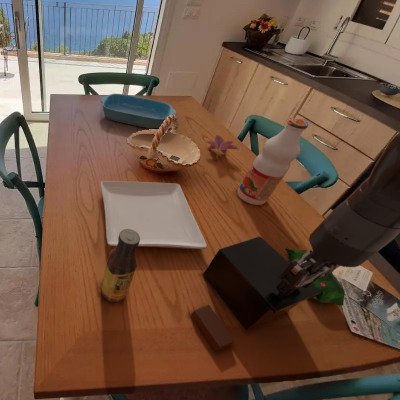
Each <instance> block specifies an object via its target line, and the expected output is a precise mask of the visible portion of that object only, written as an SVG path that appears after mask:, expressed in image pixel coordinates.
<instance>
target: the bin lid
mask: <svg viewBox="0 0 400 400" xmlns="http://www.w3.org/2000/svg"><path fill="white" fill-rule="evenodd" d="M217 252H219V253H220V254H221V255H222V256H223V257H224V258H225V260H226V261H227V262H228V263H229V264H230V265H231V266H232V267H233V268H234V269H235V271H236V272H237V273H238V274H239V275H240V276H241V277H242V278H243V279H244V280H245V282H246V283H247V284H248V285H249V286H250V287H251V288H252V289H253V290H254V291H255V293H256V294H257V295H258V296H259V297H260V298H261V299H262V300H263V301H264V302H265V304H266V305H267V306H268V307H269V308H270V309H271V310H272V311H273V312H274V313H277V312H279V311H281V310H283V309H286V308H288V307H290V306H293V305H295V304H297V303H298V304H299V303H301V302H304V301H306V300H309V299H312V297H313V296H315V295H318V294H320V293H321V291H320V290H319V289H318V288H317V287H316V286H314V285H313V284H311V285H310V286H309V287H307V288H304V287H303V285H306V284H308V283H311V282H313V281H309V282H307V281H306V282H304V283H303V284H302V285H300V287H297V288H296V289H295V290H294V291H293V292H292V293H291V294H289V295H288V296H283V295H282V294H281V293H280V292H279V291H278V290H277V288H276V286H277V285H278V284H279V283H280V282H282V280H281V279H280V278H279V277H280V275H281V274H282V273H283V272H284V270H285V269H286V268H287V267H288V265H289V264H290V263H289V261H288V259H286V258H285V257H284V256H283V255H281V254H280V253H279V252H278V251H277V250H276V249H275V248H274V247H273V246H271V245H270V244H269V243H268V242H267V241H266V240H265V238H263V237H261V236H259V235H258V236H257V237H253V238H249V239H246V240H243V241H240V242H237V243H234V244H231V245H228V246H225V247H222V248H219V249H218V251H217ZM307 274H308V275H309V276H311V274H310V273H307ZM298 304H297V305H298Z"/></svg>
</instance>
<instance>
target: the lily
mask: <svg viewBox="0 0 400 400" xmlns="http://www.w3.org/2000/svg"><path fill="white" fill-rule="evenodd" d="M204 142H205V143H207V144H209V145H210V146H209V147H208V150H217V154H216V157H215V160H217V159H218V156H219V153H220V152H221V153H223V154H224V155H226V154H227V152H228V150H240V148H239V147H238V146H236V145H234V142H235V141H234V140H225V139H224V138H223V136H221V135H219V134H215V135H214V138H213V140H205V141H204Z"/></svg>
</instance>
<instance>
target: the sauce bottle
mask: <svg viewBox="0 0 400 400" xmlns="http://www.w3.org/2000/svg"><path fill="white" fill-rule="evenodd" d="M139 242H140V236H139V234H138V233H137V232H136V231H134V230H132V229H124V230H122V231H121V232H120V234H119V237H118V245H117V246H114V247H113V248H112V249H111V250H110V252H109V254H108V258H107V260H106V264H105V267H104V273H103V277H102V281H101V287H100V290H101V294H102V296H103V298H104V299H105V300H106V301H108V302H111V303H118V302H119V303H120V302H121V301H123V300H124V299H125V297H126V296H127V294H128V292H129V289H130V287H131V283H132V281H133V279H134V275H135V274H136V271H137V267H138V264H137V258H136V251H137V248H138V247H137V246H138V245H139Z"/></svg>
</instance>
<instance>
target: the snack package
mask: <svg viewBox="0 0 400 400" xmlns="http://www.w3.org/2000/svg"><path fill="white" fill-rule="evenodd" d="M284 250H285V251H286V252H287V255H288V259H287V261H288V262H289V263H290V262H292V261H297V262H298V261H299V260H300V259H301V258H302V256H303V255H304V254H305V253H306V252H307V251H308V250H307V249H303V250H298V249H293V248H289V247H285V248H284ZM313 285H314V286H316V287H317V288H318V289H319V290H320V291H321V293H320V294H318V295H315V296H313V297H311V299H312V300H315V301H318V302H320V303H322V304H323V303H327V304H331V303H332V304H336V305H337V306H344V301H345V295H346V294H345V289H344V288H343V286H342V285H341V283H340V281H339V280H338V279H337V277H336V276H335V275H334V272H332V273H329V274H327V275H324V277H321V278H319V279H317V280H316V281H315V282H314V283H313Z"/></svg>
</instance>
